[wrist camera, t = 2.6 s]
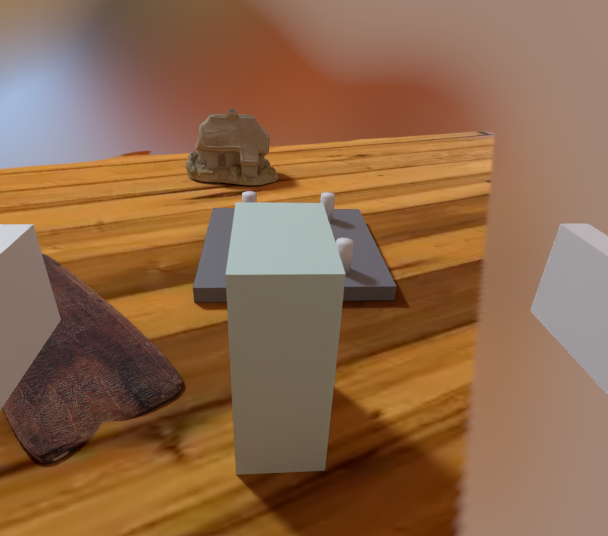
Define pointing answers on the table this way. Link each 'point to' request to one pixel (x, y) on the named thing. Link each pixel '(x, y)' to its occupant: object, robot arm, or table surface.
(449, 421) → the table surface
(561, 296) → the robot arm
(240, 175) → the ceramic model
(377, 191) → the table surface
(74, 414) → the wooden tablet
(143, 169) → the table surface
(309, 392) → the mint board
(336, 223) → the peg plinth
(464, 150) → the table surface
